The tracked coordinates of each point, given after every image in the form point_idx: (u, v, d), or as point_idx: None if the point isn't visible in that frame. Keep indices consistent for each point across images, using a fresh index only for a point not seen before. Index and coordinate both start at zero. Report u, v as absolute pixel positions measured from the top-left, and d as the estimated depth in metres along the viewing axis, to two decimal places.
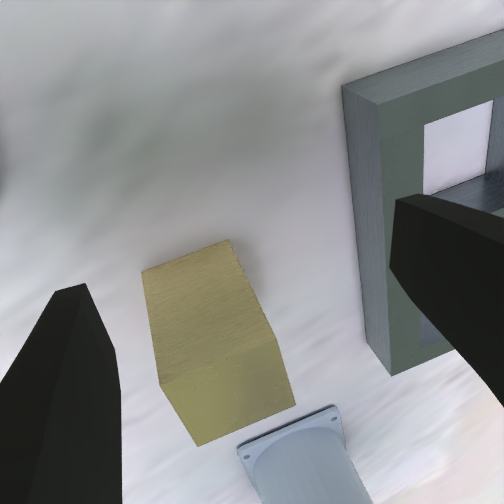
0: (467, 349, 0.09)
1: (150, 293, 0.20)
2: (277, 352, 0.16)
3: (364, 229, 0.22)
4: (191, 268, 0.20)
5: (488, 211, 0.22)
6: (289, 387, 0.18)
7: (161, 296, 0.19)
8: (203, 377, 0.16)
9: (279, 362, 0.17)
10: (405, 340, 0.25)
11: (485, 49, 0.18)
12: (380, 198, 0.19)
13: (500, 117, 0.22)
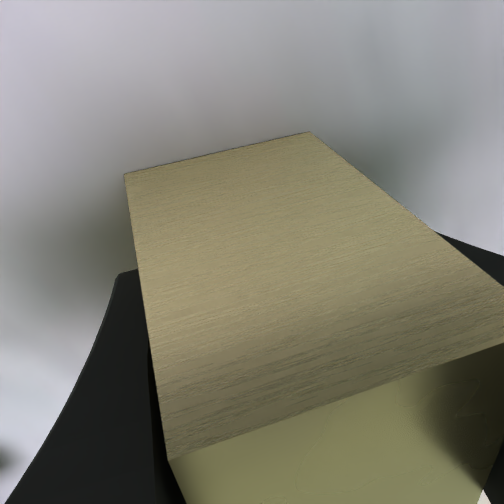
0: None
1: None
2: (246, 439, 0.04)
3: None
4: None
5: None
6: (448, 365, 0.05)
7: None
8: None
9: (303, 422, 0.05)
10: None
11: None
12: None
13: None
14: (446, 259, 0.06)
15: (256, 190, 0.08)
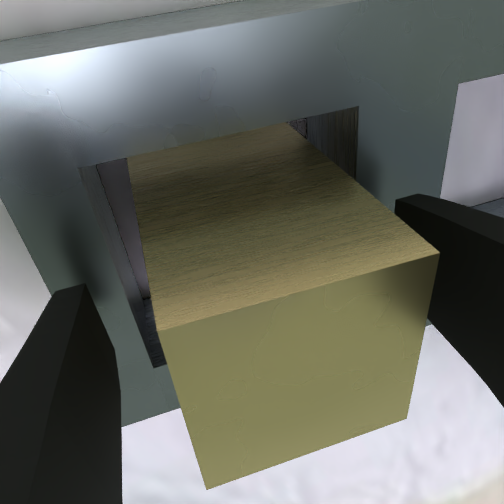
0: (467, 349, 0.09)
1: None
2: (213, 321, 0.06)
3: None
4: None
5: None
6: (362, 277, 0.07)
7: None
8: (222, 440, 0.08)
9: (254, 312, 0.06)
10: None
11: None
12: None
13: None
14: (375, 211, 0.08)
15: (235, 164, 0.10)
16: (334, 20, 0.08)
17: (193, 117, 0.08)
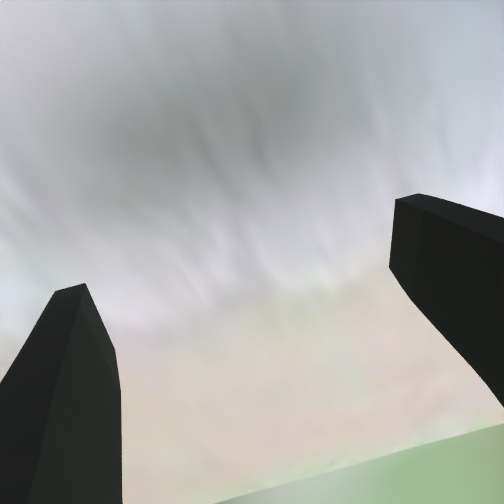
0: (467, 349, 0.09)
1: None
2: None
3: None
4: None
5: None
6: None
7: None
8: None
9: None
10: None
11: None
12: None
13: None
14: None
15: None
16: None
17: None
